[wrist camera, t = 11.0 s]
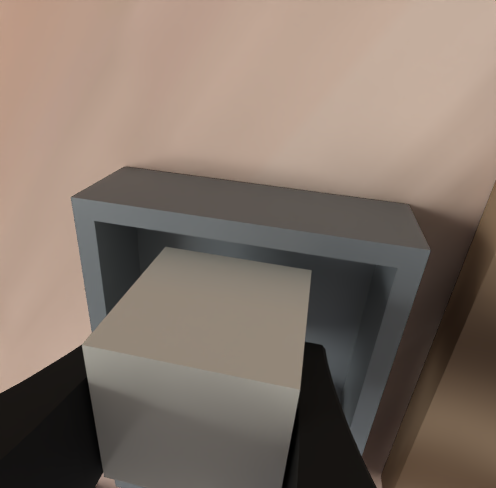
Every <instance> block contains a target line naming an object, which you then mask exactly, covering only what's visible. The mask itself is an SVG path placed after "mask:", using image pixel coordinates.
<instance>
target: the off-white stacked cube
mask: <svg viewBox="0 0 496 488" xmlns="http://www.w3.org/2000/svg"><path fill="white" fill-rule="evenodd" d="M311 272H312V270H307V269H301V268H294V267H288V266H282V265H276V264H270V263H263V262H257V261H251V260H245V259H239V258H232V257H226V256H220V255H214V254H208V253H202V252H195V251H189V250H183V249H177V248H171V247H165V248H164V249H163V250H162V251H161V253H160V254H159V255H158V256H157V257H156V258H155V260H154V261H153V262H152V263H151V264H150V265H149V267H148V268H147V269H146V270H145V271H144V272H143V274H142V275H141V276H140V277H139V278H138V280H137V281H136V282H135V283H134V284H133V285H132V287H131V288H130V289H129V290H128V291H127V292H126V294H125V295H124V296H123V297H122V298H121V299H120V301H119V302H118V303H117V304H116V305H115V307H114V308H113V309H112V310H111V311H110V312H109V314H108V315H107V316H106V317H105V318H104V319H103V321H102V322H101V323H100V324H99V325H98V326H97V328H96V329H95V330H94V331H93V332H92V333H91V335H90V336H89V337H88V338H87V339H86V341H85V342H84V343H83V344H82V349H83V355H84V361H85V367H86V373H87V378H88V384H89V390H90V396H91V402H92V408H93V414H94V420H95V426H96V432H97V437H98V443H99V449H100V455H101V461H102V467H103V473H104V477H107V478H111V479H115V480H119V481H122V482H126V483H130V484H134V485H138V486H142V487H146V488H282V483H283V477H284V472H285V467H286V461H287V456H288V451H289V446H290V440H291V435H292V430H293V425H294V419H295V414H296V409H297V403H298V398H299V393H300V386H301V375H302V365H303V355H304V344H305V334H306V324H307V313H308V303H309V293H310V282H311Z"/></svg>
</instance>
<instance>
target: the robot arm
mask: <svg viewBox="0 0 496 488" xmlns="http://www.w3.org/2000/svg"><path fill="white" fill-rule="evenodd" d="M102 473H103V467H102V461H101V455H100V449H99V443H98V437H97V432H96V426H95V420H94V414H93V408H92V402H91V396H90V390H89V384H88V378H87V373H86V367H85V361H84V355H83V349H82V345H81V346H79V347H78V348H76V349H75V350H73V351H72V352H70V353H68V354H67V355H65V356H64V357H62V358H60V359H59V360H57V361H56V362H54V363H52V364H51V365H49V366H47V367H46V368H44V369H42V370H41V371H39V372H37V373H36V374H34V375H33V376H31V377H29V378H28V379H26V380H24V381H22V382H20V383H19V384H17V385H15V386H13V387H11V388H10V389H8V390H6V391H4V392H2V393H0V488H95V486H96V484H97V482H98V480H99V479H100V477H101V475H102ZM282 488H377V487H376V485H375V483H374V481H373V479H372V477H371V475H370V473H369V471H368V469H367V467H366V465H365V462H364V460H363V458H362V456H361V454H360V451H359V449H358V447H357V444H356V442H355V440H354V438H353V435H352V433H351V430H350V428H349V425H348V423H347V420H346V417H345V415H344V412H343V409H342V407H341V404H340V401H339V398H338V395H337V392H336V389H335V386H334V383H333V380H332V376H331V373H330V369H329V365H328V360H327V356H326V349H325V348H324V347H323V345H320V344H315V343H310V342H305V344H304V355H303V365H302V375H301V386H300V393H299V398H298V403H297V409H296V414H295V419H294V425H293V430H292V435H291V440H290V446H289V451H288V456H287V461H286V467H285V472H284V477H283V483H282Z"/></svg>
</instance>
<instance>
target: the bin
mask: <svg viewBox="0 0 496 488" xmlns="http://www.w3.org/2000/svg"><path fill="white" fill-rule="evenodd" d="M71 201H72V208H73V214H74V221H75V227H76V233H77V240H78V246H79V253H80V259H81V266H82V272H83V278H84V285H85V291H86V298H87V304H88V311H89V317H90V323H91V330H92V332H93V331H94V330H95V329H96V328H97V326H98V325H99V324H100V323H101V322H102V321H103V319H104V318H105V317H106V316H107V315H108V314H109V312H110V311H111V310H112V309H113V308H114V307H115V305H116V304H117V303H118V302H119V301H120V299H121V298H122V297H123V296H124V295H125V294H126V292H127V291H128V290H129V289H130V288H131V287H132V285H133V284H134V283H135V282H136V281H137V280H138V278H139V277H140V276H141V275H142V274H143V272H144V271H145V270H146V269H147V268H148V267H149V265H150V264H151V263H152V262H153V261H154V260H155V258H156V257H157V256H158V255H159V254H160V253H161V251H162V250H163V249H164V248H165V247H171V248H177V249H183V250H189V251H195V252H202V253H208V254H214V255H220V256H226V257H232V258H239V259H245V260H251V261H257V262H263V263H270V264H276V265H282V266H288V267H294V268H301V269H307V270H312V272H311V282H310V293H309V303H308V313H307V324H306V334H305V342H310V343H315V344H320V345H323V347H324V348H325V349H326V356H327V360H328V365H329V369H330V373H331V376H332V380H333V383H334V386H335V389H336V392H337V395H338V398H339V401H340V404H341V407H342V409H343V412H344V415H345V417H346V420H347V423H348V425H349V428H350V430H351V433H352V435H353V438H354V440H355V442H356V444H357V447H358V449H359V451H360V454H361V456H362V454H363V451H364V448H365V445H366V442H367V439H368V436H369V433H370V430H371V427H372V424H373V421H374V418H375V415H376V412H377V409H378V406H379V403H380V400H381V397H382V394H383V391H384V388H385V385H386V382H387V379H388V376H389V373H390V370H391V367H392V364H393V361H394V358H395V355H396V352H397V350H398V347H399V344H400V341H401V338H402V335H403V332H404V329H405V326H406V323H407V320H408V317H409V314H410V311H411V308H412V305H413V302H414V299H415V296H416V293H417V290H418V287H419V284H420V281H421V278H422V275H423V272H424V269H425V266H426V263H427V260H428V257H429V254H430V251H431V250H430V248H429V246H428V243H427V241H426V239H425V237H424V235H423V233H422V231H421V229H420V227H419V225H418V223H417V220H416V218H415V216H414V214H413V212H412V210H411V208H410V206H409V204H402V203H395V202H387V201H380V200H372V199H365V198H357V197H350V196H342V195H335V194H327V193H320V192H312V191H304V190H297V189H289V188H282V187H274V186H267V185H259V184H252V183H244V182H237V181H229V180H222V179H214V178H207V177H199V176H192V175H184V174H177V173H169V172H161V171H154V170H146V169H139V168H131V167H123V168H121V169H119V170H117V171H116V172H114V173H112V174H110V175H109V176H107V177H105V178H103V179H102V180H100V181H98V182H96V183H95V184H93V185H91V186H89V187H88V188H86V189H84V190H82V191H81V192H79V193H77V194H75V195H74V196H72V197H71ZM115 484H116V486H117V487H121V488H146V487H142V486H138V485H134V484H130V483H126V482H122V481H119V480H115Z"/></svg>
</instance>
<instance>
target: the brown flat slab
mask: <svg viewBox="0 0 496 488" xmlns="http://www.w3.org/2000/svg"><path fill="white" fill-rule="evenodd" d="M381 479H382V488H496V182H495V184H494V187H493V189H492V192H491V194H490V197H489V200H488V202H487V205H486V207H485V210H484V212H483V215H482V218H481V220H480V223H479V225H478V228H477V230H476V233H475V236H474V238H473V241H472V243H471V246H470V248H469V251H468V254H467V256H466V259H465V261H464V264H463V266H462V269H461V272H460V274H459V277H458V279H457V282H456V284H455V287H454V290H453V292H452V295H451V297H450V300H449V302H448V305H447V308H446V310H445V313H444V315H443V318H442V320H441V323H440V326H439V328H438V331H437V333H436V336H435V338H434V341H433V344H432V346H431V349H430V351H429V354H428V356H427V359H426V362H425V364H424V367H423V369H422V372H421V374H420V377H419V380H418V382H417V385H416V387H415V390H414V392H413V395H412V398H411V400H410V403H409V405H408V408H407V410H406V413H405V415H404V418H403V421H402V423H401V426H400V428H399V431H398V433H397V436H396V439H395V441H394V444H393V446H392V449H391V451H390V454H389V457H388V459H387V462H386V464H385V467H384V469H383V472H382V475H381Z"/></svg>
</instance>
